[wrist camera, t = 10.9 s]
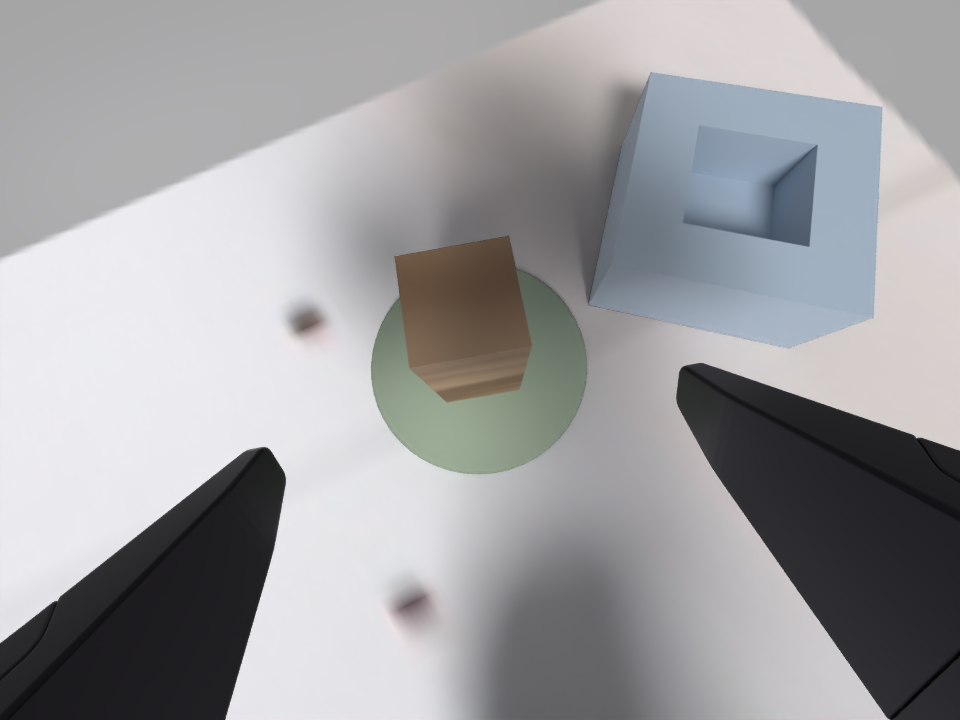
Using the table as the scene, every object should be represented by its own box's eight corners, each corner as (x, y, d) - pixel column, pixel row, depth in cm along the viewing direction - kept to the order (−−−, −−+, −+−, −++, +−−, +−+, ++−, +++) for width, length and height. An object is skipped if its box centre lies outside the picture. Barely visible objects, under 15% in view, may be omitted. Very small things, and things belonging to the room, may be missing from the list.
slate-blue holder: (789, 348, 21) (873, 317, 16) (588, 304, 23) (612, 264, 18) (804, 178, 24) (882, 106, 19) (621, 146, 25) (650, 72, 20)
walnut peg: (519, 389, 21) (532, 346, 12) (447, 402, 21) (409, 368, 13) (506, 321, 22) (509, 235, 13) (436, 333, 22) (394, 256, 13)
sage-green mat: (501, 522, 20) (501, 523, 20) (330, 386, 22) (327, 385, 22) (626, 340, 22) (629, 337, 22) (457, 231, 24) (457, 227, 24)
